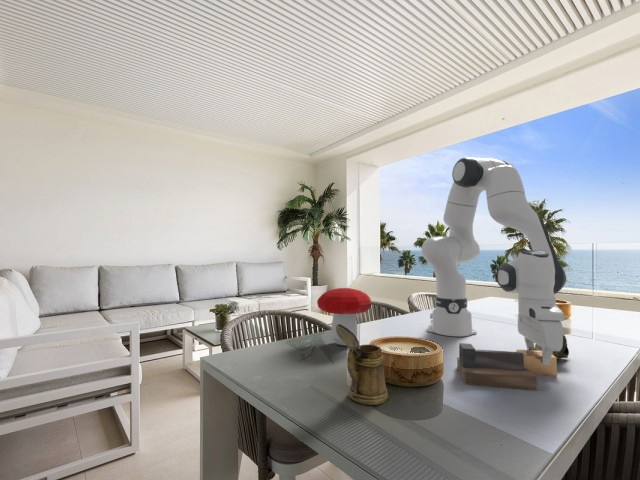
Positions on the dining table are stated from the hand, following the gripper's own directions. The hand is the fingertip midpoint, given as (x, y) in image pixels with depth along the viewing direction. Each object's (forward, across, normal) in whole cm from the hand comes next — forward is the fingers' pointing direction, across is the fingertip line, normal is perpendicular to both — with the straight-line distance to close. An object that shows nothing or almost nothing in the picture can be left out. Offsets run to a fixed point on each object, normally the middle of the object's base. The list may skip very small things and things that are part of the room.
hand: (538, 358), depth 93 cm
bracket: (+4, +8, -14) cm, 16 cm away
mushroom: (+3, -15, -56) cm, 58 cm away
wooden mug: (+4, +27, -47) cm, 54 cm away
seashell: (+4, -11, +9) cm, 15 cm away
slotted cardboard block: (+4, 0, 0) cm, 4 cm away
